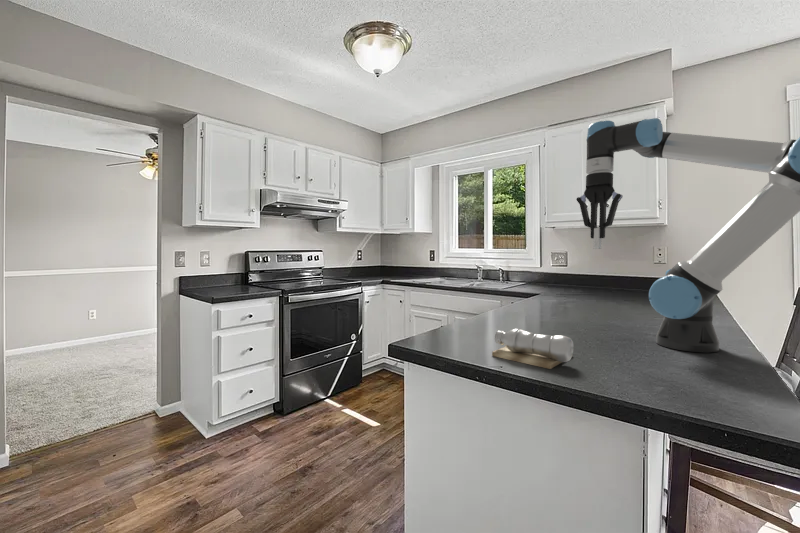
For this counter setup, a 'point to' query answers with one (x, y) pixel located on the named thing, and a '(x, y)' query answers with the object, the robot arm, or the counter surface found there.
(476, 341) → the counter surface
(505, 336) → the plastic bottle
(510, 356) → the birch board
